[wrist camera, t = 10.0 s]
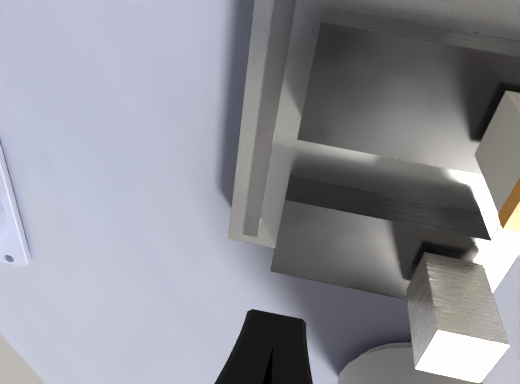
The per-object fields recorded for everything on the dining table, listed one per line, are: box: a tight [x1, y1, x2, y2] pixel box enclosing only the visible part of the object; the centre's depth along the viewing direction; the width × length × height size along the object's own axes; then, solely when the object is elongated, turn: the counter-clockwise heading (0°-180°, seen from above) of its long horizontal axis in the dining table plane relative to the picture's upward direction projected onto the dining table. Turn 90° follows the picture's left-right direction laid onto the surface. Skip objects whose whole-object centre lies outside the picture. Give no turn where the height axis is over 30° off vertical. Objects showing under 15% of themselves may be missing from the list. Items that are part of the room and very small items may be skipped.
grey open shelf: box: [228, 0, 520, 383], centre depth 13 cm, size 11×16×6 cm
